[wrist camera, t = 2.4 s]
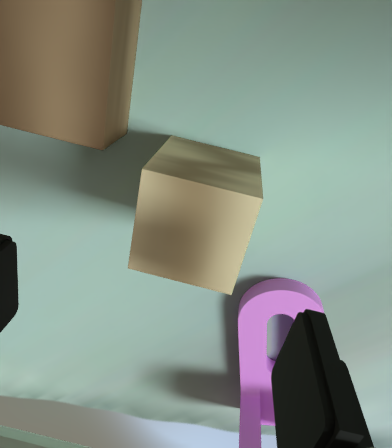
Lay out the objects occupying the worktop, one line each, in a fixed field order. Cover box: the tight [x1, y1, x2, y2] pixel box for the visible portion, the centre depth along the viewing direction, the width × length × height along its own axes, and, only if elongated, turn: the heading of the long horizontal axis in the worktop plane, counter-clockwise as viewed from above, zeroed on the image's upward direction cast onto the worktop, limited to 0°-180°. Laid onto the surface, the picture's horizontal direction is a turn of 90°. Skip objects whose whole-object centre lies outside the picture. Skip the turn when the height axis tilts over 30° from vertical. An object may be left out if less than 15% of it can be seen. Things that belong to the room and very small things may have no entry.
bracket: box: [238, 278, 324, 448], centre depth 22 cm, size 13×6×7 cm, turn 5°
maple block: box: [128, 135, 263, 295], centre depth 18 cm, size 5×5×6 cm
